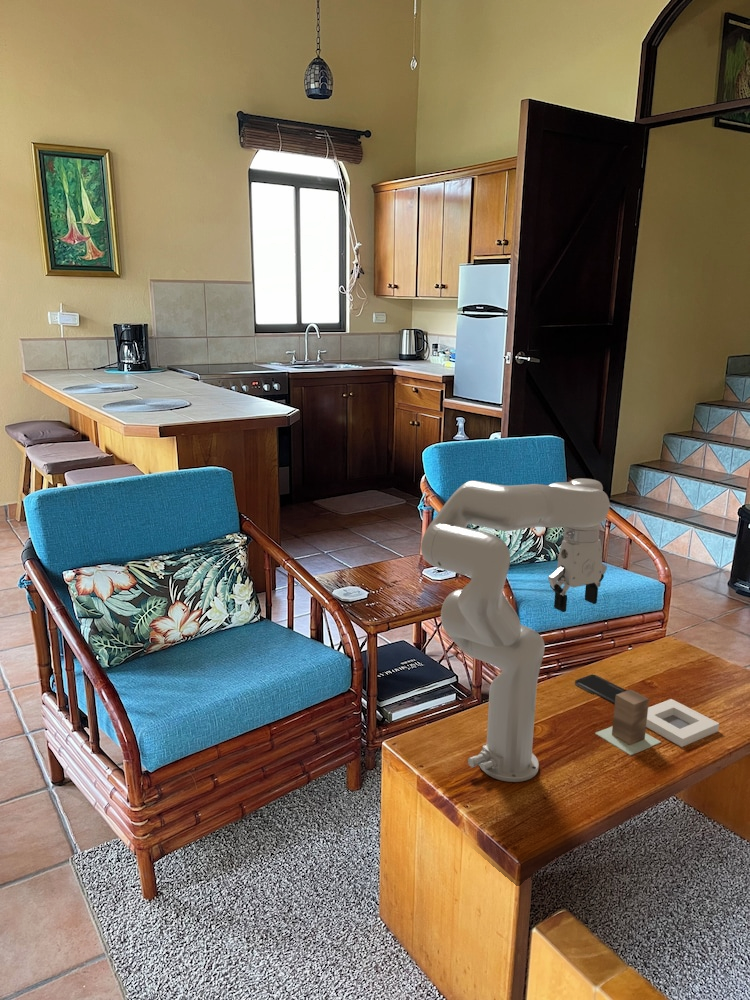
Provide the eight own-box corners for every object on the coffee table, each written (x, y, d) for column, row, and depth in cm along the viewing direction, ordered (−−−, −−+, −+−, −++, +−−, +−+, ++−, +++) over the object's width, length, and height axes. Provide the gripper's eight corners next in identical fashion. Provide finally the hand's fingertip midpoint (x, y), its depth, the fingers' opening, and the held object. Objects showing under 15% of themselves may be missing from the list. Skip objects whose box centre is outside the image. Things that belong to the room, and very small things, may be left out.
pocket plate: (681, 748, 163) (682, 739, 163) (634, 721, 174) (635, 712, 173) (718, 732, 170) (719, 723, 169) (670, 707, 181) (671, 698, 180)
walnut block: (629, 745, 163) (633, 704, 161) (611, 734, 167) (615, 694, 165) (644, 739, 166) (649, 698, 163) (626, 728, 170) (630, 689, 167)
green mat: (630, 757, 160) (630, 754, 160) (595, 735, 168) (595, 732, 168) (660, 744, 165) (661, 741, 165) (625, 723, 173) (625, 721, 173)
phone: (620, 706, 180) (573, 680, 192) (619, 710, 180) (572, 684, 192) (640, 697, 184) (593, 673, 196) (640, 701, 184) (593, 677, 196)
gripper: (565, 544, 157) (559, 618, 161) (621, 533, 166) (614, 604, 170) (540, 535, 164) (535, 607, 168) (595, 525, 172) (589, 594, 176)
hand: (575, 605), depth 169 cm, fingers open, 9 cm apart
